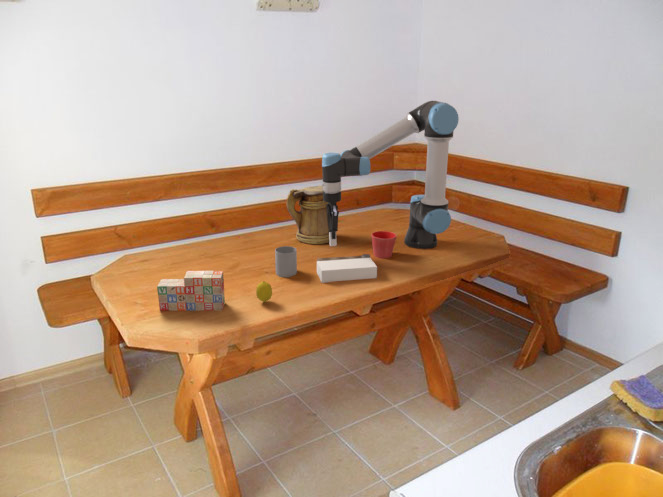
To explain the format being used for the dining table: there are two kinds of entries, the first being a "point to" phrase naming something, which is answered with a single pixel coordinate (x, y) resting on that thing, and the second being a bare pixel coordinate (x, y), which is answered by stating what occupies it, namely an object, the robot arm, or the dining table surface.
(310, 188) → the tankard
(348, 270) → the white rectangular box
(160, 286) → the stack of blocks
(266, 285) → the lemon
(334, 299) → the dining table surface
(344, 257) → the folding leg
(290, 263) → the cup
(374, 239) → the flower pot
